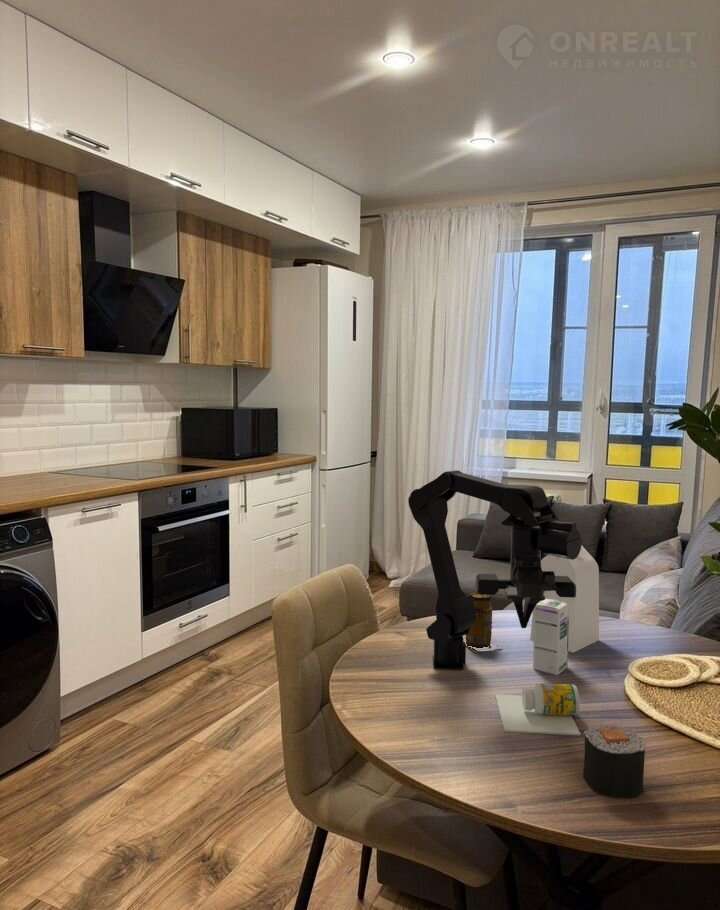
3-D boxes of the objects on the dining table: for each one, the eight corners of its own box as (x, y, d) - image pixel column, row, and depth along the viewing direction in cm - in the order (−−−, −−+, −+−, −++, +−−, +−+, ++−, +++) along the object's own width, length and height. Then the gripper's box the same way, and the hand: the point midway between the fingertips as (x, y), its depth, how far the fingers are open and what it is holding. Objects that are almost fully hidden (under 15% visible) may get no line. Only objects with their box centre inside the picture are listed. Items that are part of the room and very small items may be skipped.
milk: (556, 627, 170) (560, 527, 168) (599, 640, 162) (603, 534, 160) (530, 638, 162) (533, 533, 160) (573, 652, 154) (577, 541, 152)
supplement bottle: (573, 679, 126) (521, 677, 126) (581, 693, 120) (527, 691, 121) (571, 706, 126) (520, 704, 127) (579, 721, 121) (526, 719, 121)
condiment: (483, 637, 163) (485, 589, 162) (502, 650, 155) (504, 599, 154) (457, 641, 161) (458, 592, 160) (475, 653, 153) (476, 602, 152)
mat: (504, 731, 117) (504, 730, 117) (495, 696, 131) (495, 694, 131) (580, 735, 116) (580, 733, 116) (562, 699, 130) (562, 697, 130)
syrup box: (558, 676, 141) (560, 609, 140) (531, 668, 144) (534, 603, 143) (568, 667, 145) (570, 602, 144) (542, 660, 149) (544, 597, 148)
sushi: (652, 797, 98) (655, 745, 98) (597, 799, 98) (600, 747, 97) (626, 767, 106) (628, 719, 106) (575, 769, 106) (577, 720, 105)
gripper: (481, 558, 124) (479, 640, 125) (584, 561, 122) (581, 644, 124) (476, 545, 135) (474, 620, 136) (570, 548, 133) (567, 624, 135)
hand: (523, 627), depth 132 cm, fingers closed
